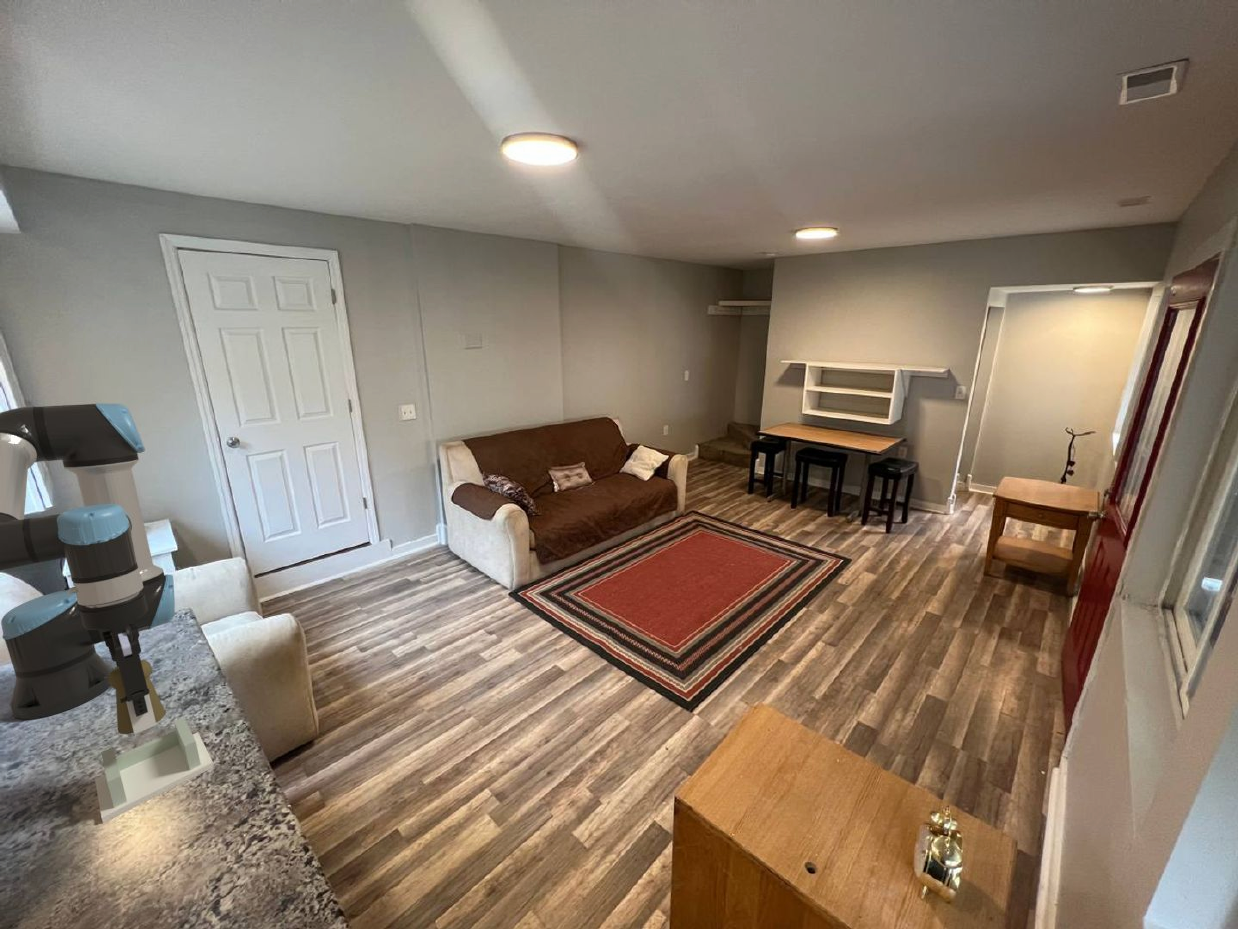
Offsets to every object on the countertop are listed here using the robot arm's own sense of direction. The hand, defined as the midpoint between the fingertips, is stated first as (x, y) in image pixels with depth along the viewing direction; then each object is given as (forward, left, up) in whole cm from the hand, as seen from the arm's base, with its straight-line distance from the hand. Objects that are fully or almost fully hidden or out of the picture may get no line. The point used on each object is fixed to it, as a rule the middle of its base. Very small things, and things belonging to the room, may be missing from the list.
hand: (142, 719), depth 83 cm
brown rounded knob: (0, 0, 0) cm, 0 cm away
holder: (0, 0, -12) cm, 12 cm away
